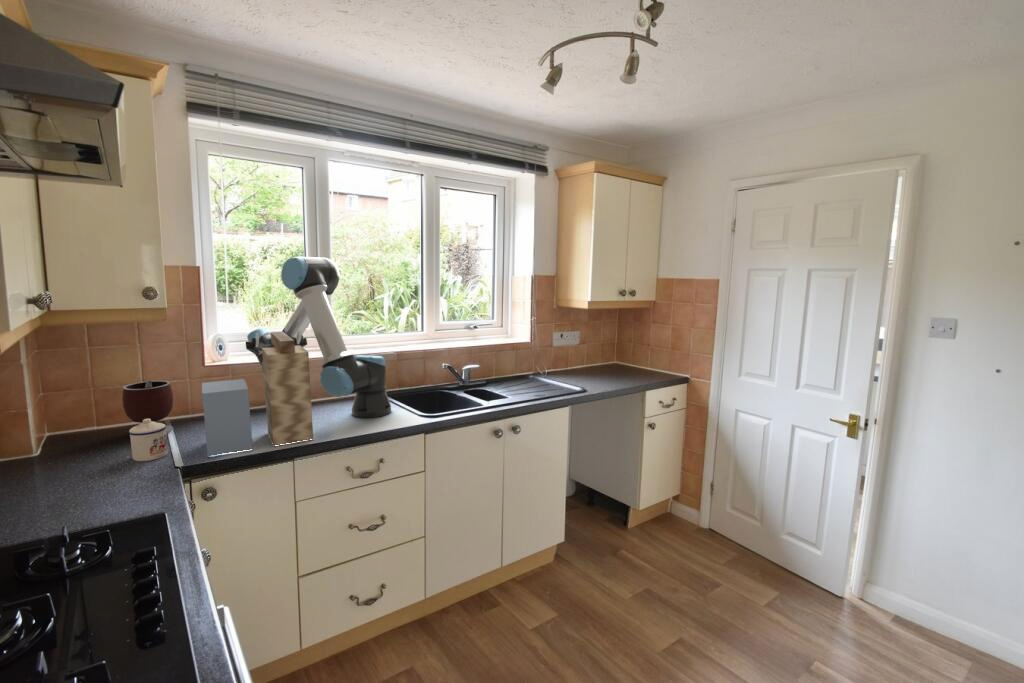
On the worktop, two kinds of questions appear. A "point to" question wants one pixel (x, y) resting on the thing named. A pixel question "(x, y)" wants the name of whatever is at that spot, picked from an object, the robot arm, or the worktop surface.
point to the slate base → (227, 416)
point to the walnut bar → (282, 342)
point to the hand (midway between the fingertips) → (279, 334)
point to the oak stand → (287, 395)
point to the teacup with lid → (148, 441)
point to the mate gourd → (148, 401)
